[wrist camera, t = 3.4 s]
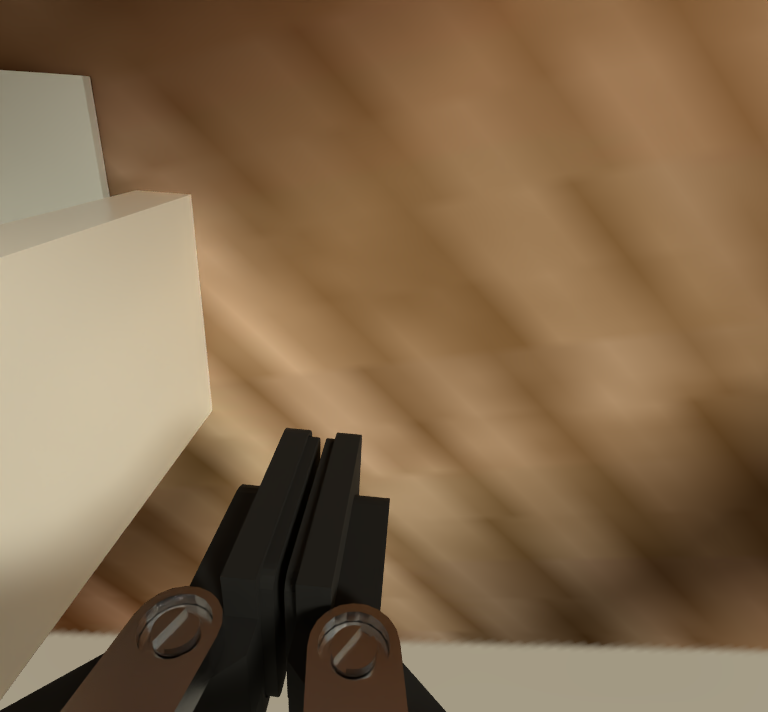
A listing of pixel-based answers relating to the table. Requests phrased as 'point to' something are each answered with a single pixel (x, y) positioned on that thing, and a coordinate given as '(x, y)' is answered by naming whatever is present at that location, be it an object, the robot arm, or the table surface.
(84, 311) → the glazed tile
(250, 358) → the table surface
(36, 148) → the mat
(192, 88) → the table surface
